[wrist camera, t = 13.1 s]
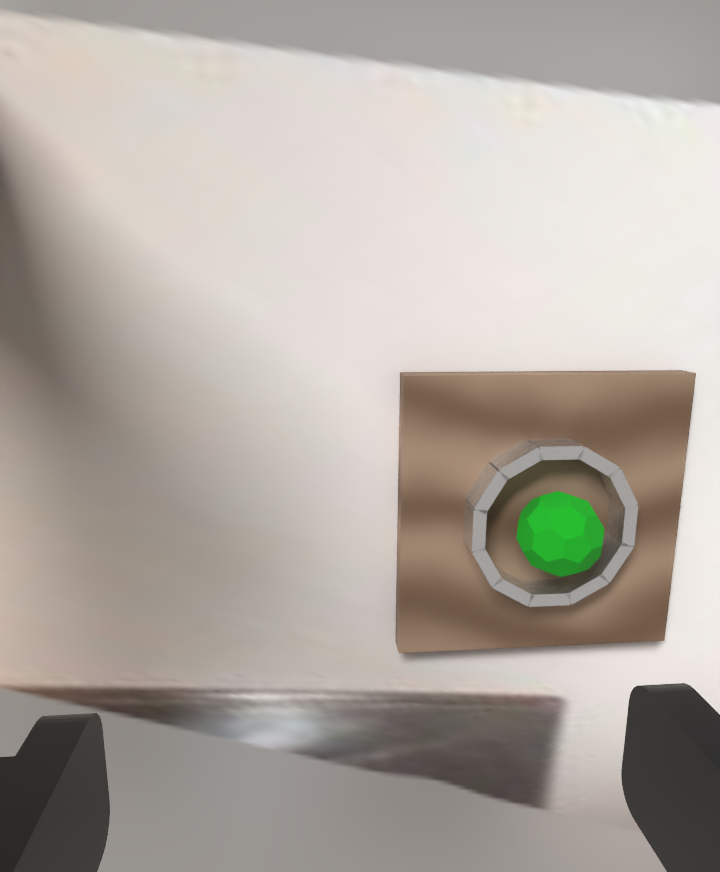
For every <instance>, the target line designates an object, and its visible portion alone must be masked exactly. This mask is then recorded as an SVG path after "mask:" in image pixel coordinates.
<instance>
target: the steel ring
mask: <svg viewBox="0 0 720 872" xmlns="http://www.w3.org/2000/svg"><path fill="white" fill-rule="evenodd" d="M574 459H580V460H581V461H583V462H585V463H586V464H588V465H590V466H592V467H593V468H595V469H596V471H597V473H598V475H599V478H600V480H601V482H602V484H603V486H604V488H605V490H606V492H607V494H608V496H609V498H610V501H609V511H608V522H607V532H606V534H605V535H604V537H603V544H602V551H601V556H600V557H599V559H598V560H597V561H596V562H595V563H594V564H593V565H592V566H591V567H590V569H588V570H585V571H582V572H579V573H576V574H572V575H568V576H564V577H559V578H557V579H547V580H520V579H518V578H516V577H514V576H512V575H510V574H508V573H507V572H505V571H503V570H501V569H499V568H497V567H495V565H494V564H493V562H492V560H491V558H490V556H489V555H488V553H487V551H486V549H485V541H486V521H487V511H488V510H489V508H490V507H491V505H492V504H493V502H494V500H495V499H496V497H497V496H498V494H499V493H500V491H501V489H502V488H503V486H504V485H505V483H506V481H507V480H508V479H510V478H511V477H513V476H515V475H517V474H518V473H520V472H522V471H524V470H525V469H527V468H529V467H531V466H532V465H534V464H536V463H538V462H539V461H541V460H574ZM489 462H490V463H491V464H490V463H489ZM489 462H488V463H487V465H486V466H485V468H484V469H483V471H482V473H481V474H480V476H479V477H478V479H477V481H476V482H475V484H474V485H473V487H472V489H471V490H470V492H469V493H468V495H467V497H466V499H465V515H464V542H465V543H466V545H467V547H468V549H469V550H470V552H471V554H472V556H473V557H474V559H475V561H476V563H477V564H478V566H479V568H480V570H481V571H482V573H483V575H484V576H485V578H486V579H487V581H488V582H489V584H490V585H491V587H492V588H493V589H495V590H497V591H499V592H501V593H503V594H505V595H507V596H508V597H510V598H512V599H514V600H516V601H518V602H520V603H522V604H524V605H526V606H529V607H538V606H562V605H570V603H571V604H574V603H576V602H577V601H579V600H581V599H583V598H585V597H586V596H588V595H590V594H592V593H593V592H595V591H597V590H599V589H600V588H602V587H604V586H606V585H608V582H609V583H610V582H611V580H612V579H613V577H614V576H615V574H616V573H617V572H618V570H619V569H620V567H621V566H622V564H623V563H624V561H625V560H626V558H627V557H628V555H629V554H630V552H631V551H632V549H633V547H632V546H634V544H635V534H636V524H637V515H638V505H637V504H638V503H637V501H636V499H635V497H634V494H633V492H632V490H631V488H630V486H629V484H628V482H627V480H626V478H625V476H624V474H623V472H622V470H621V468H620V467H619V466H617V465H615V464H614V463H612V462H610V461H608V460H607V459H605V458H603V457H602V456H600V455H598V454H597V453H595V452H593V451H592V450H590V449H588V448H587V447H585V446H583V445H581V444H579V443H577V442H576V441H574V440H572V439H569V438H567V439H528V440H525V441H523V442H521V443H520V444H518V445H516V446H514V447H513V448H511V449H509V450H507V451H506V452H504V453H502V454H500V455H499V456H497V457H495V458H494V459H492V460H490V461H489ZM607 581H608V582H607Z"/></svg>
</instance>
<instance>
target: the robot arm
mask: <svg viewBox="0 0 720 872" xmlns="http://www.w3.org/2000/svg"><path fill="white" fill-rule="evenodd" d="M622 785H623V791H624V795H625V799H626V802H627V805H628V808H629V810H630V812H631V815H632V817H633V818H634V820H635V822H636V823H637V825H638V826H639V828H640V830H641V831H642V833H643V834H644V836H645V837H646V839H647V841H648V842H649V844H650V845H651V847H652V848H653V850H654V851H655V853H656V855H657V856H658V858H659V860H660V861H661V863H662V864H663V866H664V867H665V869H666V870H667V872H720V715H719V714H718V713H717V712H716V711H715V710H714V709H713V708H712V707H711V706H710V705H709V704H708V703H707V702H706V701H705V700H704V699H703V698H702V697H701V696H700V695H699V694H698V693H697V692H696V691H695V690H694V689H693V688H692V687H691V686H689V685H688V684H684V683H682V684H663V685H644V686H636V687H635V688H634V689H633V690H632V692H631V695H630V699H629V707H628V716H627V725H626V735H625V744H624V753H623V763H622ZM109 816H110V803H109V791H108V781H107V771H106V760H105V750H104V740H103V730H102V723H101V719H100V717H99V715H98V714H97V713H92V714H76V715H75V714H73V715H55V716H42V717H41V718H40V719H39V720H38V721H37V722H36V724H35V725H34V727H33V728H32V730H31V731H30V733H29V735H28V736H27V738H26V740H25V741H24V743H23V744H22V746H21V748H20V749H19V751H18V753H17V754H16V756H13V757H0V872H97V870H98V868H99V865H100V862H101V859H102V856H103V853H104V849H105V845H106V840H107V835H108V827H109Z"/></svg>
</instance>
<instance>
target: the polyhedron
mask: <svg viewBox="0 0 720 872" xmlns="http://www.w3.org/2000/svg"><path fill="white" fill-rule="evenodd" d="M603 537H604V527H603V525H602V523H601V522H600V520H599V518H598V516H597V515H596V513H595V512H594V510H593V508H592V507H591V505H590V503H589V502H588V501H586V500H583V499H581V498H578V497H575V496H572V495H569V494H566V493H563V492H560V491H556V492H552V493H549V494H545V495H542V496H539V497H537V498H534V499H532V500H531V501H530V502H529V503H528V504H527V506H526V507H525V508H524V509H523V510H522V511H521V514H520V518H519V521H518V529H517V538H516V539H517V541H518V543H519V545H520V547H521V549H522V551H523V553H524V554H525V556H526V558H527V559H528V561H529V562H530V564H531V565H532V566H534V567H536V568H538V569H541V570H543V571H545V572H548V573H551V574H554V575H556V576H559V577H564V576H568V575H572V574H576V573H579V572H582V571H585V570H588V569H590V567H591V566H592V565H593V564H594V563H595V562H596V561H597V560H598V559H599V557H600V556H601V551H602V544H603Z"/></svg>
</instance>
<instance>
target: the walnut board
mask: <svg viewBox="0 0 720 872" xmlns="http://www.w3.org/2000/svg"><path fill="white" fill-rule="evenodd" d="M695 377H696V373H692V372H687V371H682V370H666V371H534V372H401V373H400V415H399V473H398V531H397V588H396V644H397V648H398V651H399V653H409V652H430V651H451V650H472V649H493V648H515V647H536V646H557V645H578V644H599V643H621V642H642V641H663V640H664V638H665V630H666V622H667V613H668V605H669V596H670V588H671V579H672V571H673V562H674V554H675V546H676V537H677V529H678V520H679V512H680V503H681V495H682V487H683V478H684V470H685V461H686V453H687V444H688V436H689V427H690V419H691V411H692V402H693V394H694V385H695ZM567 438H569V439H572V440H574V441H576V442H577V443H579V444H581V445H583V446H585V447H587V448H588V449H590V450H592V451H593V452H595V453H597V454H598V455H600V456H602V457H603V458H605V459H607V460H608V461H610V462H612V463H614V464H615V465H617V466H619V467H620V468H621V470H622V472H623V474H624V476H625V478H626V480H627V482H628V484H629V486H630V488H631V490H632V492H633V494H634V497H635V499H636V501H637V503H638V504H637V505H638V515H637V524H636V534H635V544H634V546H632V547H633V549H632V551H631V552H630V554H629V555H628V557H627V558H626V560H625V561H624V563H623V564H622V566H621V567H620V569H619V570H618V572H617V573H616V574H615V576H614V577H613V579H612V580H611V582H610V583H609V582H608V581H607V582H608V585H606V586H604V587H602V588H600V589H599V590H597V591H595V592H593V593H592V594H590V595H588V596H586V597H585V598H583V599H581V600H579V601H577V602H576V603H574V604H571V603H570V605H562V606H538V607H529V606H526V605H524V604H522V603H520V602H518V601H516V600H514V599H512V598H510V597H508V596H507V595H505V594H503V593H501V592H499V591H497V590H495V589H493V588H492V587H491V585H490V584H489V582H488V581H487V579H486V578H485V576H484V575H483V573H482V571H481V570H480V568H479V566H478V564H477V563H476V561H475V559H474V557H473V556H472V554H471V552H470V550H469V549H468V547H467V545H466V543H465V542H464V515H465V499H466V497H467V495H468V493H469V492H470V490H471V489H472V487H473V485H474V484H475V482H476V481H477V479H478V477H479V476H480V474H481V473H482V471H483V469H484V468H485V466H486V465H487V463H488V462H489V461H490V460H492V459H494V458H495V457H497V456H499V455H500V454H502V453H504V452H506V451H507V450H509V449H511V448H513V447H514V446H516V445H518V444H520V443H521V442H523V441H525V440H528V439H567ZM489 463H490V462H489ZM490 464H491V463H490ZM556 491H560V492H563V493H566V494H569V495H572V496H575V497H578V498H581V499H583V500H586V501H588V502H589V503H590V505H591V507H592V508H593V510H594V512H595V513H596V515H597V516H598V518H599V520H600V522H601V523H602V525H603V527H604V535H605V534H606V532H607V522H608V511H609V501H610V498H609V496H608V494H607V492H606V490H605V488H604V486H603V484H602V482H601V480H600V478H599V475H598V473H597V471H596V469H595V468H593V467H592V466H590V465H588V464H586V463H585V462H583V461H581V460H580V459H574V460H541V461H539V462H538V463H536V464H534V465H532V466H531V467H529V468H527V469H525V470H524V471H522V472H520V473H518V474H517V475H515V476H513V477H511V478H510V479H508V480H507V481H506V483H505V485H504V486H503V488H502V489H501V491H500V493H499V494H498V496H497V497H496V499H495V500H494V502H493V504H492V505H491V507H490V508H489V510H488V511H487V521H486V541H485V549H486V551H487V553H488V555H489V556H490V558H491V560H492V562H493V564H494V565H495V567H497V568H499V569H501V570H503V571H505V572H507V573H508V574H510V575H512V576H514V577H516V578H518V579H520V580H547V579H557V578H559V576H556V575H554V574H551V573H548V572H545V571H543V570H541V569H538V568H536V567H534V566H532V565H531V564H530V562H529V561H528V559H527V558H526V556H525V554H524V553H523V551H522V549H521V547H520V545H519V543H518V541H517V539H516V538H517V529H518V521H519V518H520V514H521V511H522V510H523V509H524V508H525V507H526V506H527V504H528V503H529V502H530V501H531V500H532V499H534V498H537V497H539V496H542V495H545V494H549V493H552V492H556Z"/></svg>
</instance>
